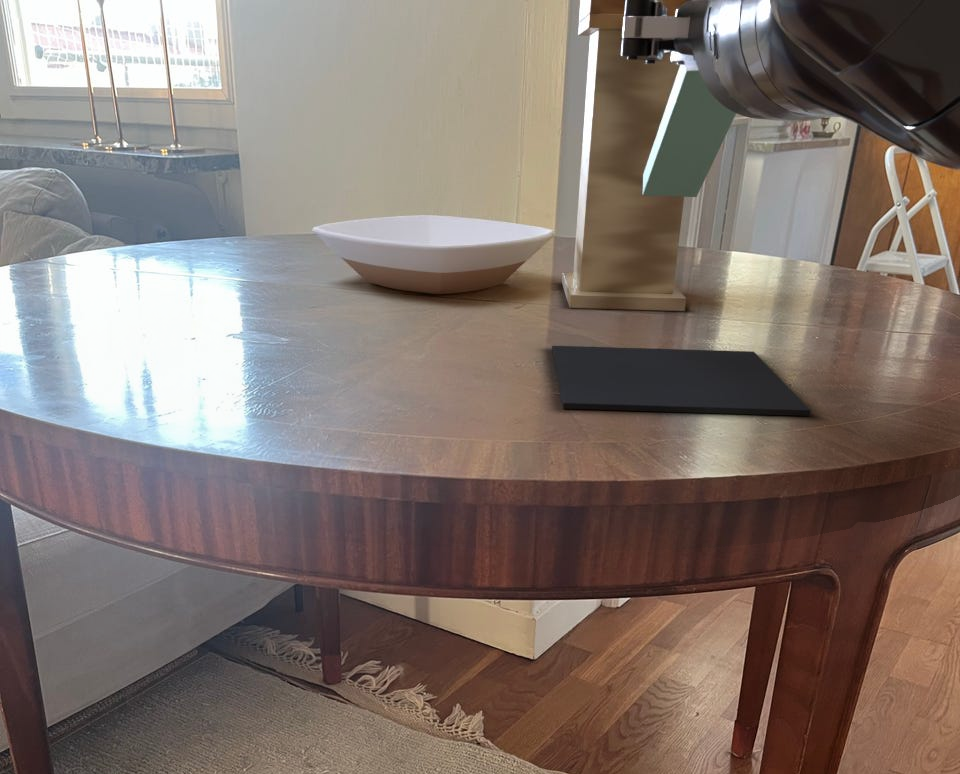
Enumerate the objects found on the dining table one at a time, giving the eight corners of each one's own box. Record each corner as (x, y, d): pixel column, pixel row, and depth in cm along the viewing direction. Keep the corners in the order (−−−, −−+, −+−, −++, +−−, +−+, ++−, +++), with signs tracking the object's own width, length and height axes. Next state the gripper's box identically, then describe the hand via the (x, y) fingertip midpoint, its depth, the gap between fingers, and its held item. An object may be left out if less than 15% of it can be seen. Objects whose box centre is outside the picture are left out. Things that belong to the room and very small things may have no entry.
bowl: (446, 311, 88) (446, 250, 85) (288, 281, 99) (284, 226, 96) (577, 283, 102) (581, 230, 100) (426, 260, 114) (426, 212, 111)
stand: (664, 286, 102) (698, -6, 89) (684, 311, 91) (727, -20, 78) (561, 283, 102) (580, -9, 89) (569, 307, 91) (592, -24, 78)
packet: (696, 197, 70) (697, 175, 70) (781, 18, 50) (782, -12, 50) (642, 196, 70) (643, 174, 70) (705, 16, 50) (706, -14, 50)
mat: (753, 356, 75) (754, 351, 75) (809, 416, 62) (810, 410, 61) (551, 350, 76) (552, 345, 75) (563, 408, 62) (563, 402, 61)
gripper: (991, -84, 39) (855, -34, 54) (642, -95, 39) (603, -41, 54) (942, 125, 42) (827, 118, 57) (623, 115, 43) (591, 111, 57)
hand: (719, 41), depth 55 cm, fingers closed on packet, 4 cm apart
